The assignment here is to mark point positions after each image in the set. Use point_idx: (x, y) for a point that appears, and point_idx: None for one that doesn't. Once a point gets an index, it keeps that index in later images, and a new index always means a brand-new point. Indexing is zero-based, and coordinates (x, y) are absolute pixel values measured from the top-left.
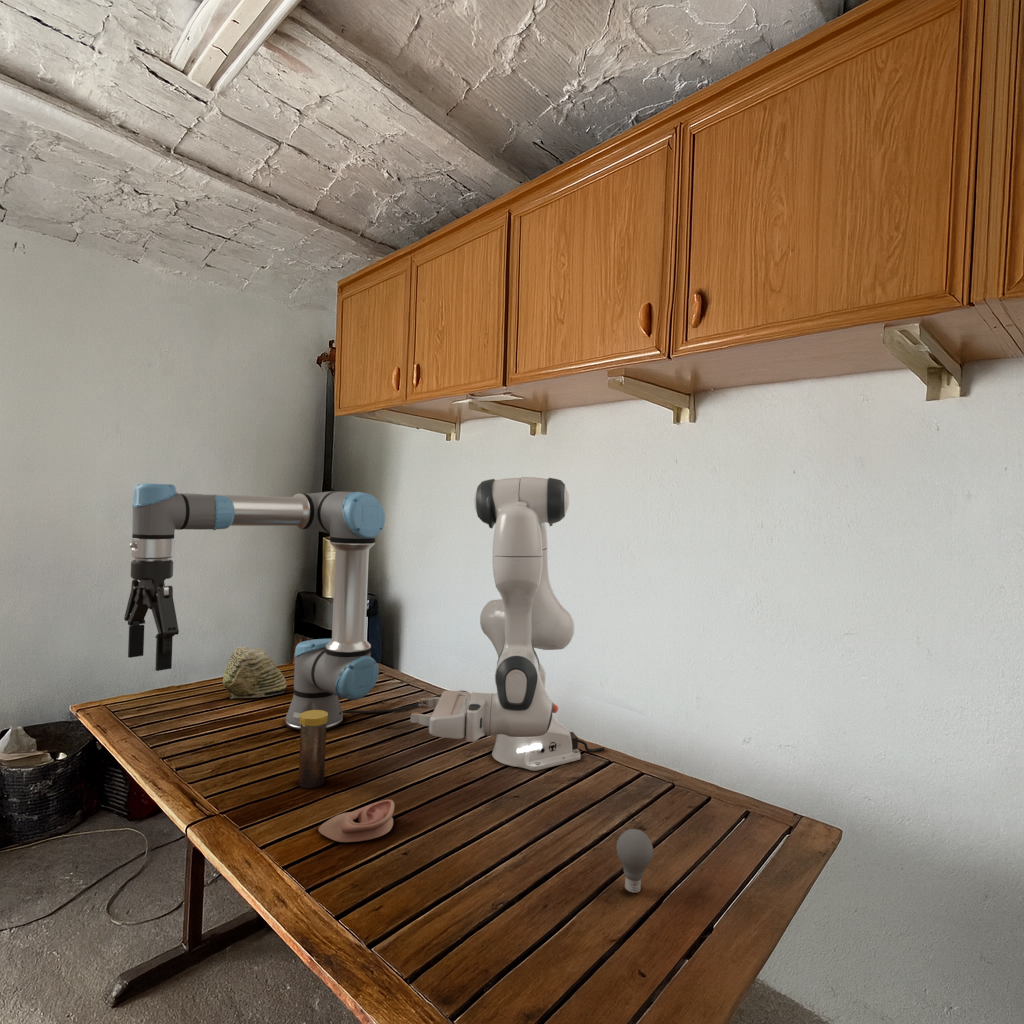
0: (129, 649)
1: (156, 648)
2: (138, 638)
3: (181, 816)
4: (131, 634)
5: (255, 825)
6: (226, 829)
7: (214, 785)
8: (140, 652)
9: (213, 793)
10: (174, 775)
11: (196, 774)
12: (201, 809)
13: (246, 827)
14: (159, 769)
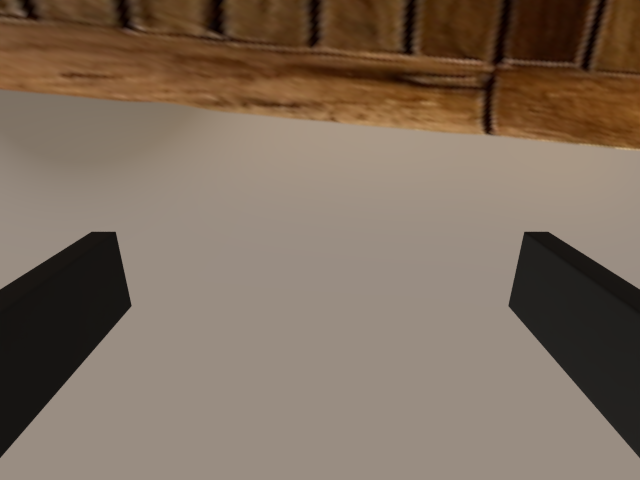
0: (101, 336)
1: (600, 404)
2: (40, 332)
3: (445, 127)
4: (25, 413)
5: (599, 37)
6: (561, 89)
7: (366, 5)
8: (106, 259)
9: (402, 28)
10: (248, 51)
11: (277, 7)
12: (450, 85)
13: (589, 55)
14: (191, 62)
